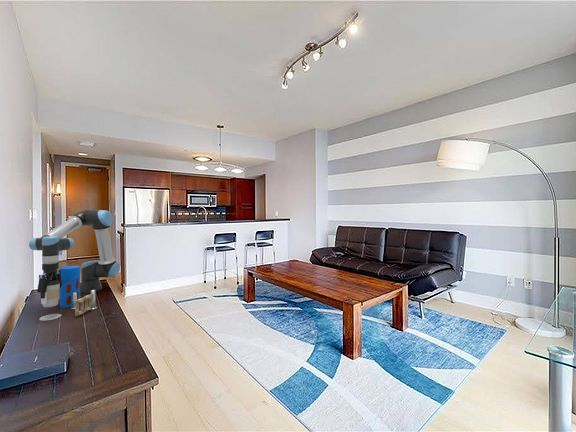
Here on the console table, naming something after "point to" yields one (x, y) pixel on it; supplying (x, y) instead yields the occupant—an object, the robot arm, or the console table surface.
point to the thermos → (69, 285)
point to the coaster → (50, 317)
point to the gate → (83, 304)
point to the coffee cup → (52, 293)
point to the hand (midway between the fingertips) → (50, 301)
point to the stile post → (74, 300)
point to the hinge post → (93, 299)
